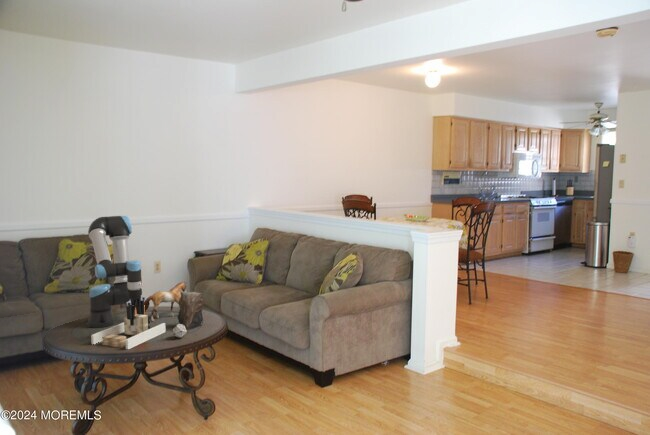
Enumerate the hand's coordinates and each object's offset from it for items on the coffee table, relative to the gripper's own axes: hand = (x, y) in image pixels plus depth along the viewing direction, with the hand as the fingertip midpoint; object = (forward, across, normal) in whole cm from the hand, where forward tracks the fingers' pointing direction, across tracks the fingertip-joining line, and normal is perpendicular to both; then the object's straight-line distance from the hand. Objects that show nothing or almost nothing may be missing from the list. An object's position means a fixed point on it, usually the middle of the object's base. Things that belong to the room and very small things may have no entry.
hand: (136, 329), depth 302 cm
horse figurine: (+4, +35, +8) cm, 36 cm away
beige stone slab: (+3, 0, 0) cm, 3 cm away
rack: (+3, -6, 0) cm, 6 cm away
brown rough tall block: (+3, +23, -19) cm, 30 cm away
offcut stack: (+3, -17, 0) cm, 17 cm away
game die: (+3, +4, -26) cm, 27 cm away
